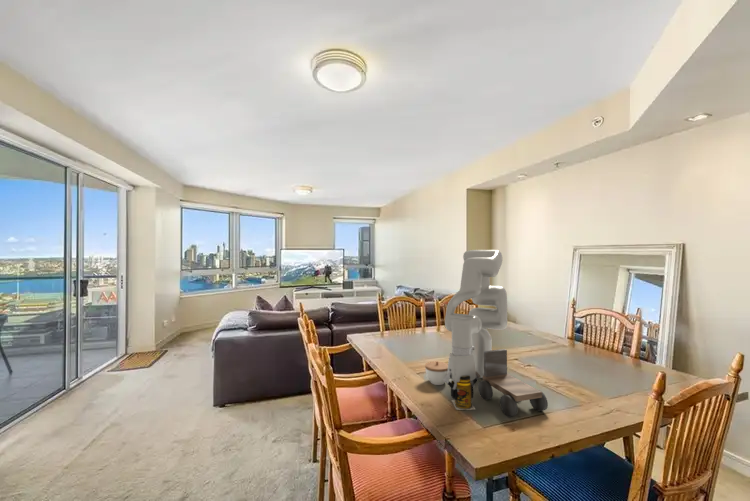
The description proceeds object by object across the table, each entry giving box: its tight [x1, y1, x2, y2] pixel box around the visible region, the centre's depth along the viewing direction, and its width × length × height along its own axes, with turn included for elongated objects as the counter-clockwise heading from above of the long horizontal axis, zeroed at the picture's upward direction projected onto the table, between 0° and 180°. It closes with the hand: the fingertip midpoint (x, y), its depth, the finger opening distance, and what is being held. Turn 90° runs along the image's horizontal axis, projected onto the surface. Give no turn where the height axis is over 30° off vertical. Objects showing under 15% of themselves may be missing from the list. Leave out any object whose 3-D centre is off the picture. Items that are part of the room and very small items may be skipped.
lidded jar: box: [424, 360, 448, 386], centre depth 150 cm, size 11×11×9 cm
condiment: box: [451, 376, 477, 411], centre depth 128 cm, size 7×8×12 cm
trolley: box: [477, 348, 549, 418], centre depth 128 cm, size 21×15×18 cm
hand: (462, 397), depth 128 cm, fingers closed on condiment, 6 cm apart
